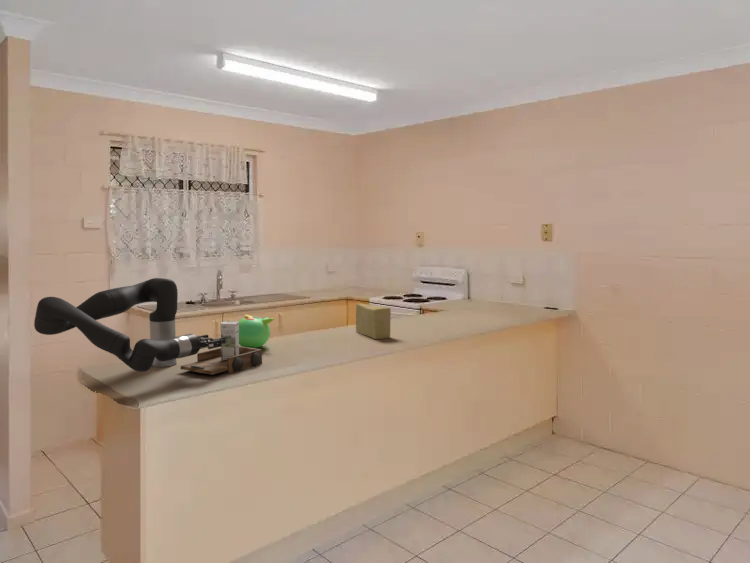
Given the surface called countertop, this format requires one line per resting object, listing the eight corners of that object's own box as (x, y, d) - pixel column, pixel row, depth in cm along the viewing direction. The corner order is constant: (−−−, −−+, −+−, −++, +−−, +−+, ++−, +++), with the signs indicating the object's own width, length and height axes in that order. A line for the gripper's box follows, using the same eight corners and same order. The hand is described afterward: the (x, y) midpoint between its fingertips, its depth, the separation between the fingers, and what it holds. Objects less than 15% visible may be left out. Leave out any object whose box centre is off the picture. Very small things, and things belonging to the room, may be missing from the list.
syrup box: (239, 357, 223) (239, 320, 222) (235, 361, 217) (235, 323, 216) (224, 357, 223) (224, 320, 222) (220, 361, 217) (220, 323, 216)
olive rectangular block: (348, 333, 291) (348, 303, 290) (364, 331, 297) (364, 302, 295) (375, 340, 273) (375, 308, 272) (391, 337, 279) (391, 307, 278)
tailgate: (180, 369, 209) (180, 364, 209) (197, 364, 216) (197, 359, 216) (211, 374, 202) (211, 369, 202) (228, 369, 209) (228, 365, 208)
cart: (196, 367, 217) (195, 353, 217) (230, 358, 233) (229, 344, 232) (230, 373, 208) (230, 358, 208) (263, 363, 224) (263, 349, 224)
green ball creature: (231, 344, 259) (230, 312, 258) (268, 342, 265) (268, 310, 264) (236, 353, 243) (235, 318, 241) (276, 350, 249) (276, 316, 247)
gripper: (168, 354, 203) (202, 346, 217) (198, 359, 196) (231, 350, 210) (168, 333, 202) (202, 326, 216) (197, 337, 195) (231, 330, 210)
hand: (216, 338), depth 213 cm, fingers open, 8 cm apart
